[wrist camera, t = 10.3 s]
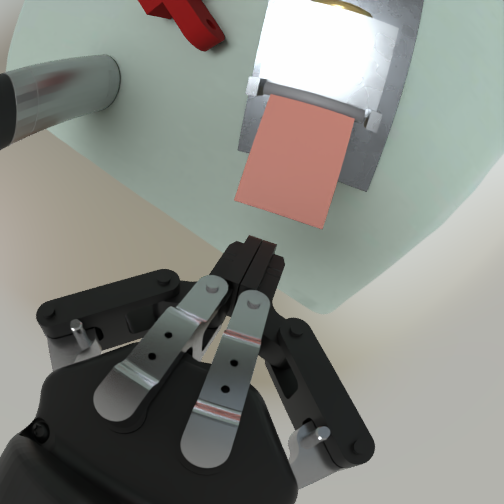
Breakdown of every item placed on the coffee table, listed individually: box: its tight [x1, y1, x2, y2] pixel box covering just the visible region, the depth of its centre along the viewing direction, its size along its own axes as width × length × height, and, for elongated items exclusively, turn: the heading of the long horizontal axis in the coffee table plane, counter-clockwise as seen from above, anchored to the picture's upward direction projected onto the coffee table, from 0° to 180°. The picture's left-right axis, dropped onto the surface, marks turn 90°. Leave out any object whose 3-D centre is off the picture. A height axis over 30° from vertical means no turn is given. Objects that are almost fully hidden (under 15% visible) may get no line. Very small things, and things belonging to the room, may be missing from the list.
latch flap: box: [234, 82, 365, 229], centre depth 17 cm, size 7×9×1 cm
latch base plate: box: [238, 0, 424, 192], centre depth 18 cm, size 16×26×12 cm, turn 169°
